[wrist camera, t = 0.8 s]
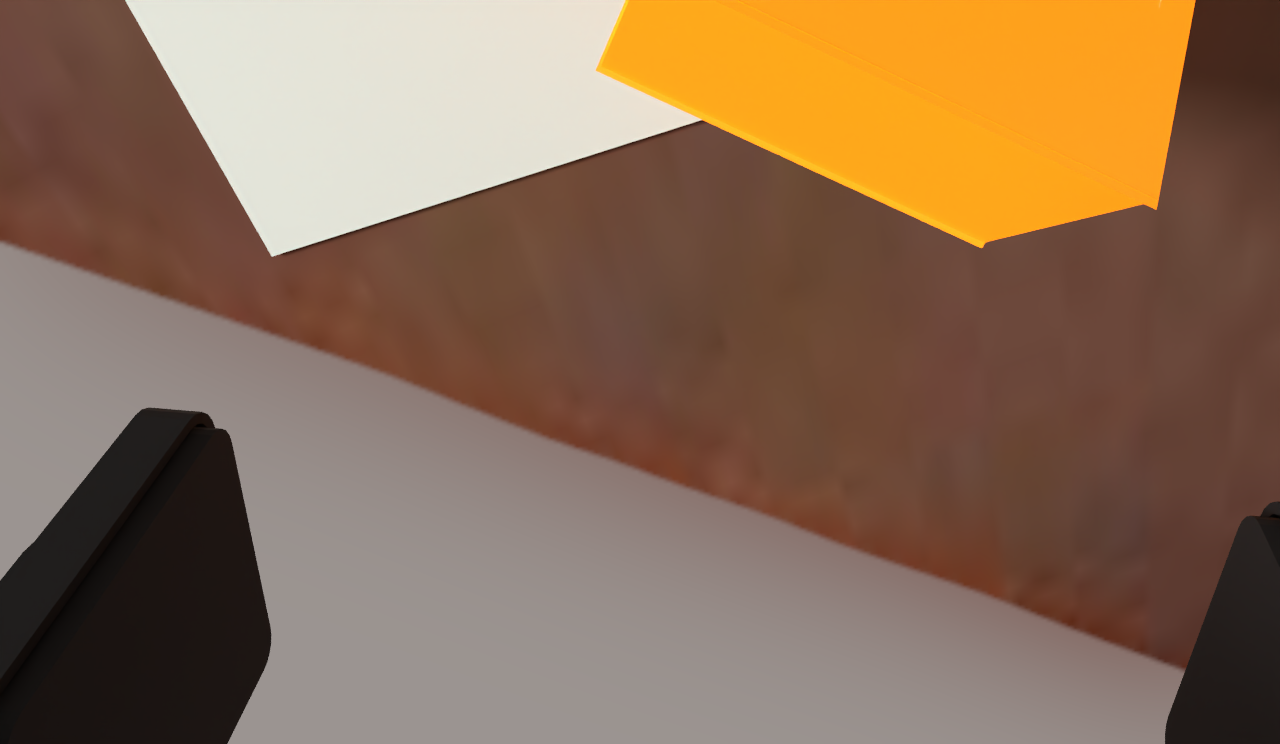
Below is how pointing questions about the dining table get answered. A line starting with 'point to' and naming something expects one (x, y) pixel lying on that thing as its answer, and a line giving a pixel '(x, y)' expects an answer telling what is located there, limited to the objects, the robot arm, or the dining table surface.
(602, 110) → the mat
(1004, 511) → the dining table surface
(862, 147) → the orange juice
